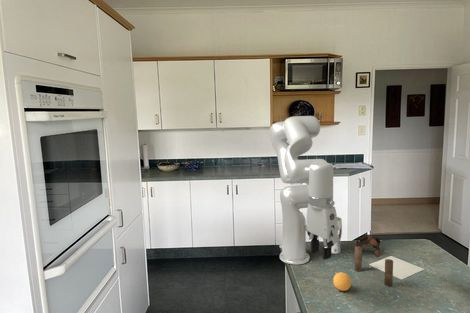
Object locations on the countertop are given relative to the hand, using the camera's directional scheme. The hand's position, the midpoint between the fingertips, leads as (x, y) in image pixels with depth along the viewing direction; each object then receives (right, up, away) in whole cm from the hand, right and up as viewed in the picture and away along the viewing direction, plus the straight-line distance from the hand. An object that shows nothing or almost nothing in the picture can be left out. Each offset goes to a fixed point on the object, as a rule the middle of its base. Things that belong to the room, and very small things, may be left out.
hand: (320, 254), depth 105 cm
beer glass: (+16, -10, +38) cm, 42 cm away
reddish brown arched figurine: (+31, -10, +36) cm, 49 cm away
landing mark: (+35, -12, +21) cm, 43 cm away
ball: (+9, -11, +6) cm, 16 cm away
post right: (+26, -13, +9) cm, 31 cm away
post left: (+20, -12, +20) cm, 31 cm away
